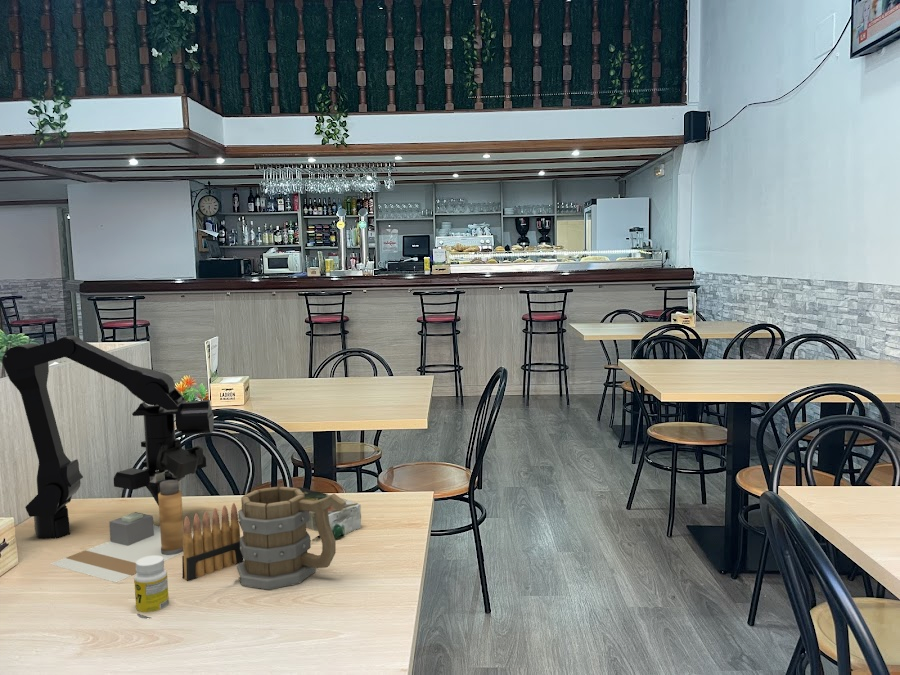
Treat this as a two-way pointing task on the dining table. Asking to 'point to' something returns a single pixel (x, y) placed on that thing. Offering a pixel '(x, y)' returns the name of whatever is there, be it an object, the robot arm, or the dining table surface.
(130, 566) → the floor panel
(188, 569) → the ammunition clip
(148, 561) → the supplement bottle
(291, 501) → the tankard
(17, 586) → the dining table surface
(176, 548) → the tan cylinder
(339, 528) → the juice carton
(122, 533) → the grey cube-like block
